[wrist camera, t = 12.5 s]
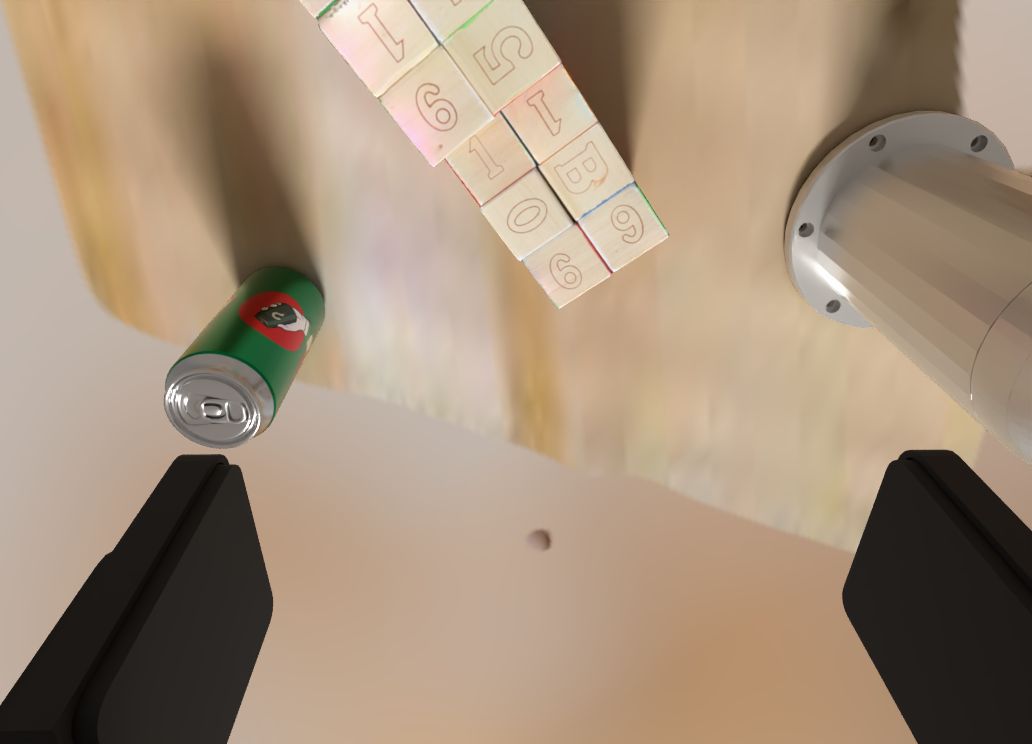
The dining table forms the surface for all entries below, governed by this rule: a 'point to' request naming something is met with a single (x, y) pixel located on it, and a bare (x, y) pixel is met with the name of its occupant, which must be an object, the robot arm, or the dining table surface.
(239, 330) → the soda can
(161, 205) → the dining table surface
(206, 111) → the dining table surface
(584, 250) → the stack of blocks
